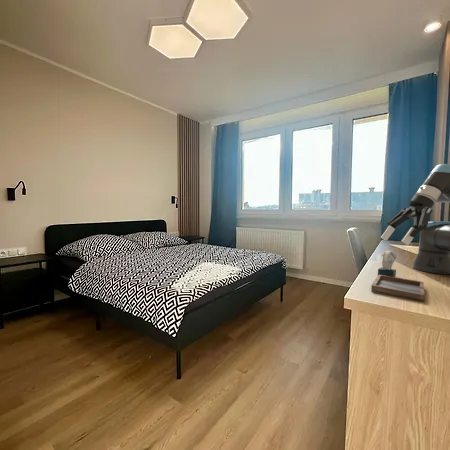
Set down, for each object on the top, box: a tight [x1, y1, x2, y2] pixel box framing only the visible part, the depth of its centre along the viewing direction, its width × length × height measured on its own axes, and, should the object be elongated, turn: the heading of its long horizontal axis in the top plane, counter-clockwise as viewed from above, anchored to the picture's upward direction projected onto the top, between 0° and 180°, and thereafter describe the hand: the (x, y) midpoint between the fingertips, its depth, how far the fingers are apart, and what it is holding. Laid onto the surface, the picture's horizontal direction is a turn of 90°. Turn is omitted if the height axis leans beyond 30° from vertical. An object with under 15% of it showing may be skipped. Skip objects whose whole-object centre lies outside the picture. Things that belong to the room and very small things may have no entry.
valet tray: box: [370, 274, 425, 303], centre depth 86 cm, size 18×14×2 cm
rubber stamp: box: [377, 250, 397, 277], centre depth 103 cm, size 6×8×11 cm
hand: (393, 241), depth 102 cm, fingers open, 13 cm apart
